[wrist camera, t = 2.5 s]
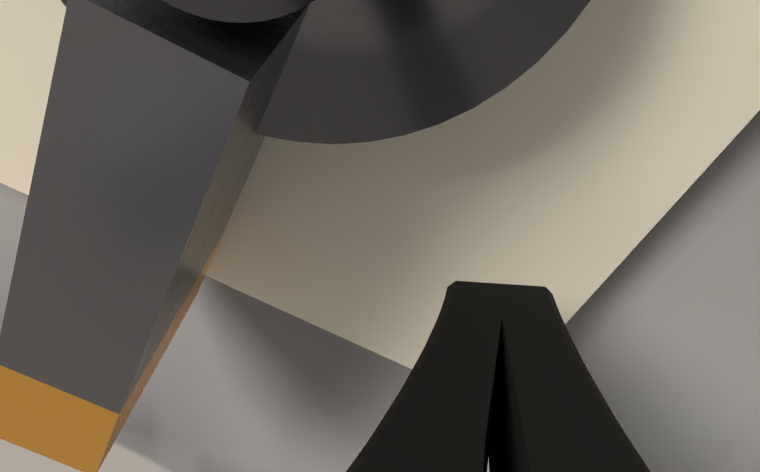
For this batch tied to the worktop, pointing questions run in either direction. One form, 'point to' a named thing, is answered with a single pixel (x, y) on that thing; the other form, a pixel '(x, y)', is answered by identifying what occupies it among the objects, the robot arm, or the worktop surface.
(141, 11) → the lever door handle
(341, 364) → the worktop surface
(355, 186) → the console plate
